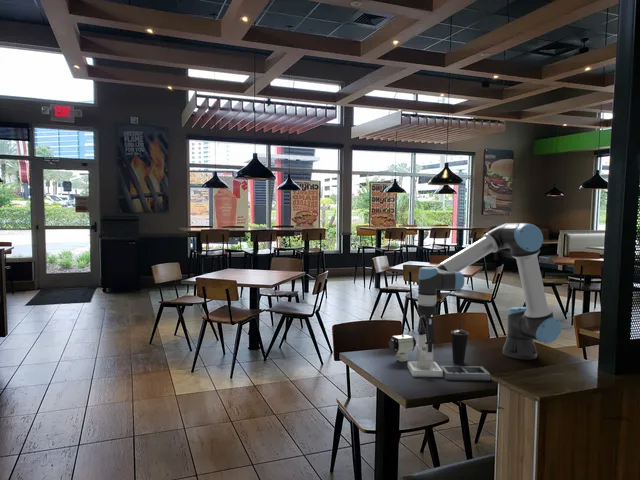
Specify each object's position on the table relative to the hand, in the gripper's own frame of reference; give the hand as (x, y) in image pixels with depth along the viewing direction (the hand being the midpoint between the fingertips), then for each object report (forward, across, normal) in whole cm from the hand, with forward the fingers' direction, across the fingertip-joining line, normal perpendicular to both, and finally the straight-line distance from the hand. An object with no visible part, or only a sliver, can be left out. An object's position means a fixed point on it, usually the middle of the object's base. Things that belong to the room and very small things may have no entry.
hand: (425, 354), depth 204 cm
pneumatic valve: (+8, -15, -6) cm, 18 cm away
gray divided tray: (+7, +4, +16) cm, 18 cm away
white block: (+7, 0, 0) cm, 7 cm away
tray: (+7, 0, 0) cm, 7 cm away
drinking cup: (+8, -14, +18) cm, 24 cm away
